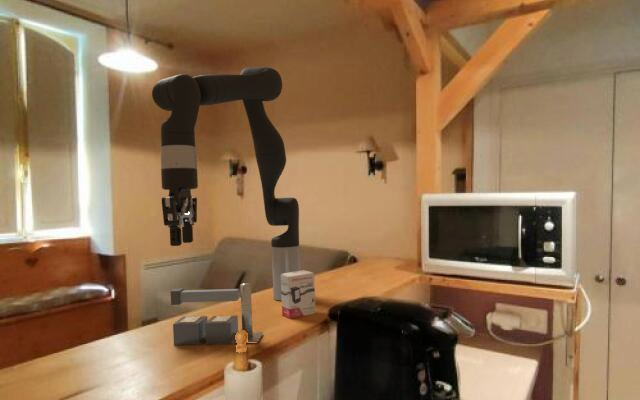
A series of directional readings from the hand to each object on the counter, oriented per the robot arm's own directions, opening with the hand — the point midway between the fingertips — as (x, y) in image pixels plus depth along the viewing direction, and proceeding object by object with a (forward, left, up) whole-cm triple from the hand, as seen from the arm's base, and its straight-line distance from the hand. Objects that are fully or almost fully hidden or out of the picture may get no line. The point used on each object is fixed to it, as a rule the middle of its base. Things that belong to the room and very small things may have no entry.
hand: (182, 243), depth 89 cm
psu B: (-7, -1, -24) cm, 25 cm away
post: (-7, +12, -24) cm, 27 cm away
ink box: (-27, +22, -24) cm, 42 cm away
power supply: (-7, +6, -24) cm, 26 cm away
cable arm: (-7, +2, -15) cm, 16 cm away
